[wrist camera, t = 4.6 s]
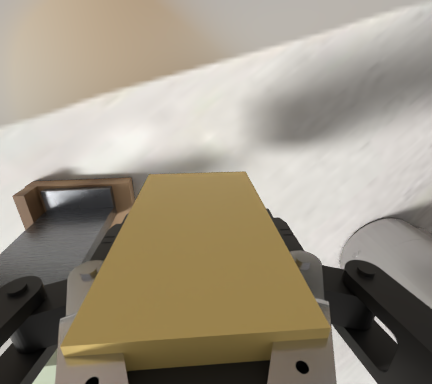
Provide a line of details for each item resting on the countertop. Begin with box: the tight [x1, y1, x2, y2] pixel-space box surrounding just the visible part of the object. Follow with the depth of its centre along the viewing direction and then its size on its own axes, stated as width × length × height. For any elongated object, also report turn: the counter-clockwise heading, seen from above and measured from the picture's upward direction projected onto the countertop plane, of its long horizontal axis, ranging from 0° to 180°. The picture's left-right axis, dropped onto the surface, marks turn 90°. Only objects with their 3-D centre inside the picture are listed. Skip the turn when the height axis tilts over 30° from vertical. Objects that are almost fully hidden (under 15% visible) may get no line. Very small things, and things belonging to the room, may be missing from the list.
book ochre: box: [60, 172, 331, 371], centre depth 10 cm, size 6×4×10 cm
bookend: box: [0, 186, 117, 288], centre depth 17 cm, size 6×3×10 cm, turn 90°
